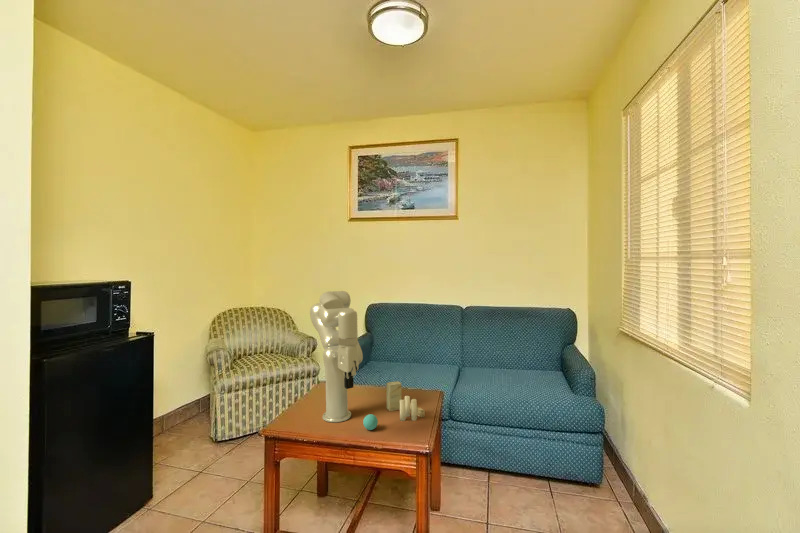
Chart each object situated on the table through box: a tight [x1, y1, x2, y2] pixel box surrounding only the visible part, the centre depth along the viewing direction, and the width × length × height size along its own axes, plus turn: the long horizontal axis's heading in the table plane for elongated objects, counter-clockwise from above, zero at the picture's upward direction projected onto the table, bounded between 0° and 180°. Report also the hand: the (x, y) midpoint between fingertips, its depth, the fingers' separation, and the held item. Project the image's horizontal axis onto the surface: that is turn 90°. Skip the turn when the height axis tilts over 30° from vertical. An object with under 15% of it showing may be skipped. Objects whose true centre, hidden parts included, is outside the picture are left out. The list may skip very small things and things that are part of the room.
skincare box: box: [386, 380, 403, 412], centre depth 175 cm, size 6×4×12 cm
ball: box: [362, 413, 379, 431], centre depth 153 cm, size 6×6×6 cm
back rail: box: [410, 402, 426, 418], centre depth 169 cm, size 12×2×3 cm, turn 34°
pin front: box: [399, 398, 407, 422], centre depth 162 cm, size 2×2×8 cm
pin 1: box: [404, 395, 411, 418], centre depth 166 cm, size 2×2×8 cm
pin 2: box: [410, 398, 418, 422], centre depth 162 cm, size 2×2×8 cm
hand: (348, 387), depth 147 cm, fingers closed
